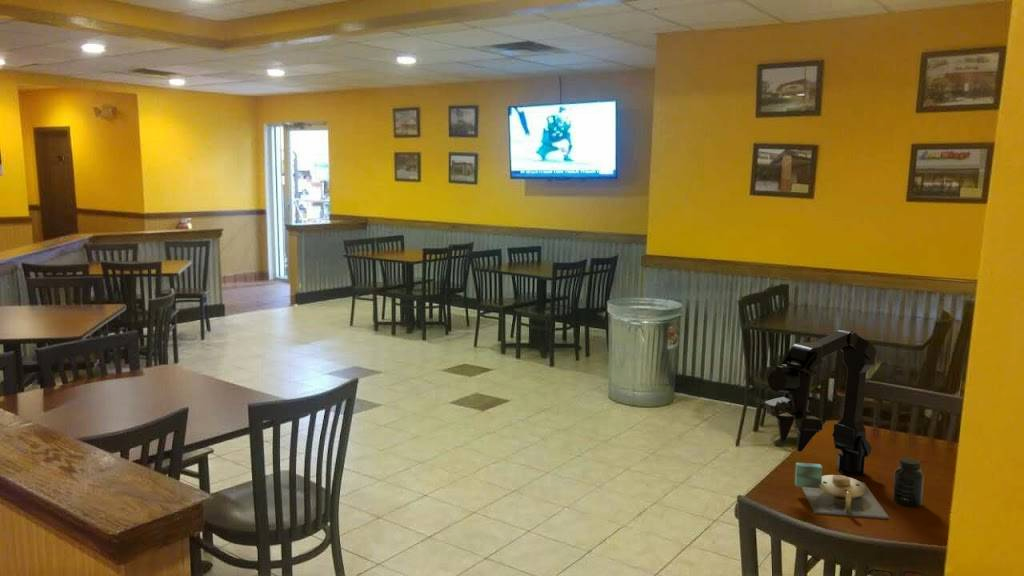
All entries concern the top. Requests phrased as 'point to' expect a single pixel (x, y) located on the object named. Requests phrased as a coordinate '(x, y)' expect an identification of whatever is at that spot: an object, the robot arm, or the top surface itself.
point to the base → (844, 504)
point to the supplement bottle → (908, 483)
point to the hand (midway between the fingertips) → (790, 446)
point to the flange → (826, 481)
